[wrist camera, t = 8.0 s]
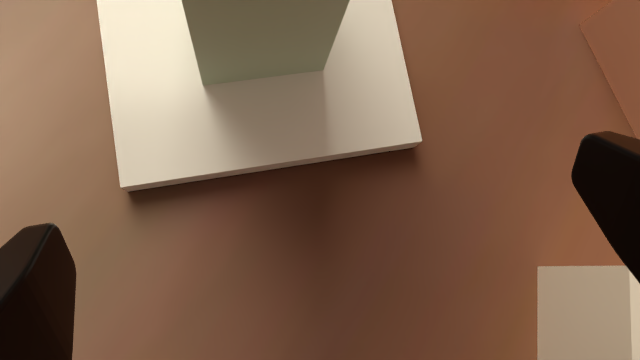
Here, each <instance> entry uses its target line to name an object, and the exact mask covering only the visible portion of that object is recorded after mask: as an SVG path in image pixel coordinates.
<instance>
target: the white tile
mask: <svg viewBox="0 0 640 360" xmlns="http://www.w3.org/2000/svg"><path fill="white" fill-rule="evenodd" d="M97 6H98V14H99V22H100V30H101V38H102V46H103V54H104V61H105V69H106V77H107V85H108V93H109V101H110V109H111V117H112V125H113V132H114V140H115V148H116V156H117V164H118V172H119V180H120V187H121V188H122V189H124V190H125V191H127V192H129V191H135V190H142V189H148V188H155V187H161V186H168V185H174V184H181V183H187V182H194V181H200V180H207V179H213V178H219V177H226V176H232V175H239V174H245V173H252V172H258V171H265V170H271V169H278V168H284V167H290V166H297V165H303V164H310V163H316V162H323V161H329V160H336V159H342V158H349V157H355V156H362V155H368V154H374V153H381V152H387V151H394V150H400V149H407V148H413V147H415V146H416V145H418V144H419V143H421V142H422V138H421V133H420V128H419V124H418V119H417V115H416V110H415V106H414V101H413V97H412V92H411V87H410V83H409V78H408V74H407V69H406V65H405V60H404V56H403V51H402V46H401V42H400V37H399V33H398V28H397V24H396V19H395V15H394V10H393V5H392V1H391V0H350V1H349V4H348V6H347V9H346V12H345V14H344V17H343V20H342V22H341V25H340V28H339V30H338V33H337V35H336V38H335V41H334V43H333V46H332V49H331V51H330V54H329V57H328V59H327V62H326V65H325V67H324V70H321V71H313V72H305V73H297V74H290V75H282V76H274V77H266V78H258V79H251V80H243V81H235V82H227V83H219V84H212V85H204V86H203V84H202V80H201V76H200V72H199V68H198V64H197V60H196V56H195V52H194V48H193V44H192V40H191V36H190V32H189V28H188V24H187V20H186V16H185V12H184V8H183V4H182V0H97Z"/></svg>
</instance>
